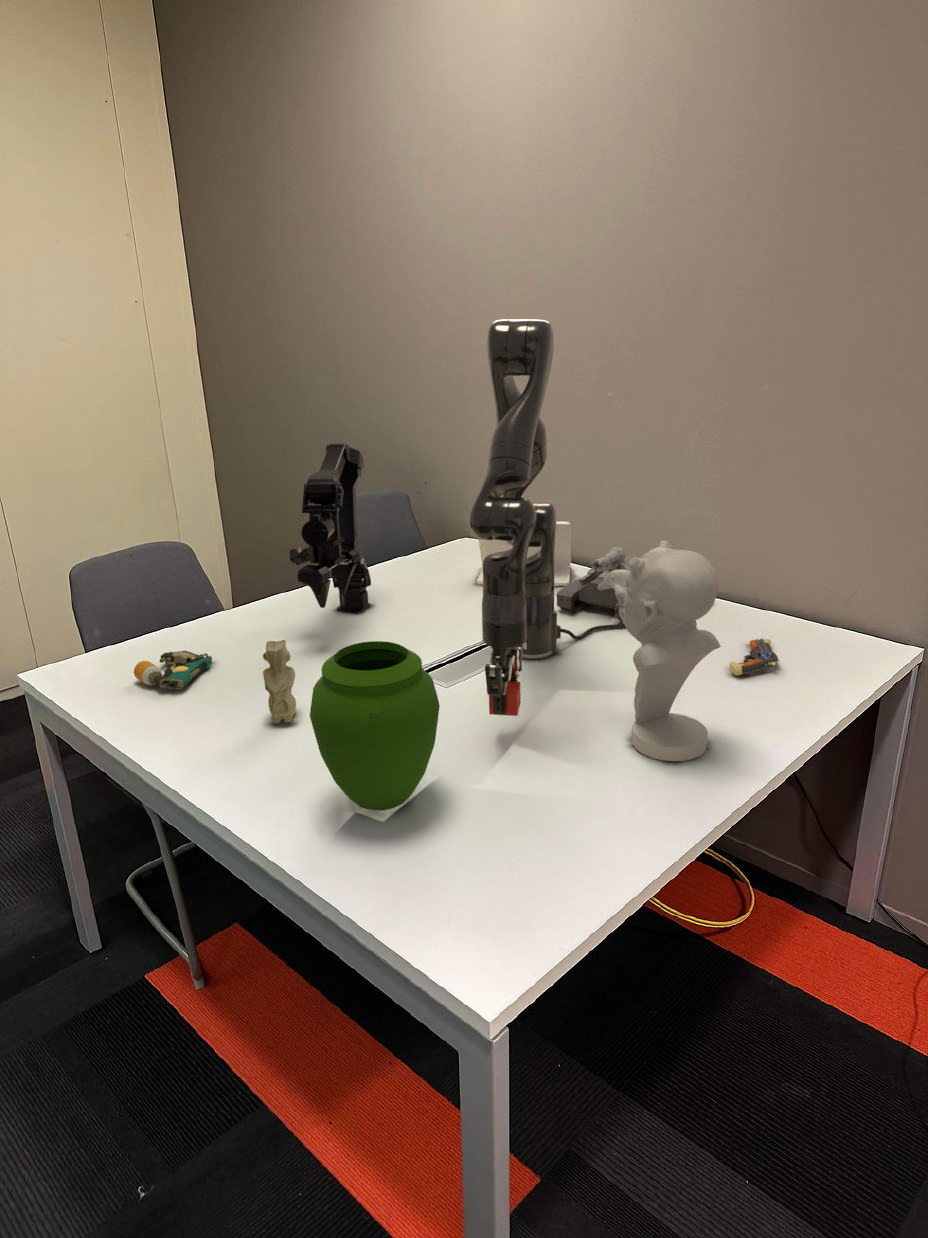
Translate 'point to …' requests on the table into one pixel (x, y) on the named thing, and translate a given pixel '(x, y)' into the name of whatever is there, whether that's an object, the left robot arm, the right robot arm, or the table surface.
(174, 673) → the spray gun
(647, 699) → the bust sculpture
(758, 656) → the toy gun
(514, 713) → the brick
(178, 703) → the table surface
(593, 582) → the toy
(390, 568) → the table surface
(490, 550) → the tablet stand
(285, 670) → the sculpture
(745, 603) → the table surface
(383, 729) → the vase
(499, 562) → the right robot arm
